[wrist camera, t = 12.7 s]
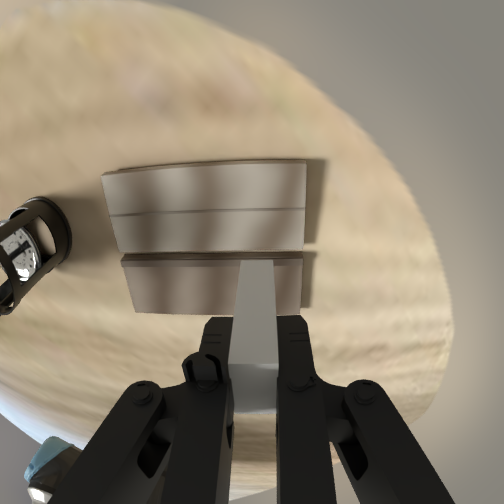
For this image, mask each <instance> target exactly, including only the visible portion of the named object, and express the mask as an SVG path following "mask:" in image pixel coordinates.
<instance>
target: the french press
mask: <svg viewBox="0 0 504 504" xmlns="http://www.w3.org/2000/svg"><path fill="white" fill-rule="evenodd" d="M38 216H39V217H40V218H41V219H42V220H43V221H44V222H45V224H46V225H47V226H48V228H49V230H50V232H51V234H52V237H53V239H54V243H55V248H56V253H55V254H54V255H53V256H45V255H42V254H41V251H40V248H39V246H38V243H37V242H36V240H35V238H34V236H33V235H32V233H31V232H30V231H29V229H28V228H27V227H26V226H25V225H26V224H28V223H29V222H31V221H32V220H34V219H35V218H37V217H38ZM71 246H72V234H71V230H70V226H69V223H68V221H67V219H66V217H65V215H64V214H63V212H62V211H61V209H60V208H59V207H58V206H57V205H56V204H55V203H53V202H52V201H50V200H49V199H46V198H43V197H33V198H31V199H29V200H27V201H26V202H25V203H24V204H23V205H22V206H20V207H18V208H17V209H15V210H14V211H13V212H12V213H11V214H10V216H9V217H8V220H2V221H0V268H2V269H3V270H4V272H5V273H6V274H7V276H8V278H9V279H7V280H6V281H5V282H4V283H3V284H2V285H1V286H0V316H1V315H8V314H10V313H11V312H12V311H13V310H14V309H15V308H16V307H17V305H18V304H19V303H20V301H21V299H22V298H23V297H24V296H25V295H26V293H27V292H28V291H29V290H30V289H31V288H32V287H33V286H34V285H35V284H36V283H37V282H38V281H39V280H40V279H41V278H42V277H43V276H44V275H45V274H47V273H49V272H50V271H51V270H52V269H53V268H54V267H55V266H56V265H58V264H60V263H62V262H63V261H64V260H65V259H66V258H67V257H68V255H69V253H70V250H71ZM13 302H14V303H13ZM12 303H13V307H9V306H10V305H11V304H12Z"/></svg>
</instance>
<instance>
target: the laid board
mask: <svg viewBox="0 0 504 504" xmlns="http://www.w3.org/2000/svg"><path fill="white" fill-rule="evenodd" d="M241 260H273V267H274V284H275V302H276V315H294V314H300V303H301V286H302V267H303V255H302V252H245V253H179V254H125V255H124V256H123V258H122V259H121V266H122V267H123V268H124V272H125V276H126V280H127V284H128V288H129V291H130V295H131V299H132V302H133V306H134V309H135V312H136V313H158V314H189V315H234V311H235V303H236V295H237V287H238V280H239V272H240V264H241Z"/></svg>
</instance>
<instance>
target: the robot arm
mask: <svg viewBox="0 0 504 504" xmlns="http://www.w3.org/2000/svg"><path fill="white" fill-rule="evenodd" d="M182 368H183V372H184V376H185V379H186V382H184V383H182V384H180V385H176V386H172V387H167V388H160V387H159V385H158V384H156V383H154V382H152V381H138V382H136V383H134V384H132V385H130V386H129V387H128V388H127V389H126V390H125V392H124V393H123V394H122V396H121V397H120V398H119V400H118V401H117V403H116V404H115V406H114V407H113V408H112V410H111V411H110V413H109V414H108V415H107V417H106V418H105V420H104V421H103V422H102V424H101V425H100V427H99V428H98V430H97V431H96V432H95V434H94V435H93V437H92V438H91V440H90V441H89V442H88V444H87V445H86V447H85V448H84V450H81V449H79V448H77V447H76V446H75V445H74V444H70V443H68V442H66V441H64V440H62V439H60V438H59V437H56V436H52V437H49V438H47V439H46V440H45V441H44V443H43V444H42V445H41V447H40V448H39V449H38V451H37V453H36V454H35V455H34V457H33V459H32V460H31V463H30V464H29V466H28V468H27V469H26V471H25V474H24V478H25V479H26V480H27V482H30V484H29V487H28V492H29V495H30V497H31V499H32V504H228V501H229V488H230V475H231V462H232V449H233V437H234V422H233V415H234V413H235V414H276V457H277V504H337V501H336V492H335V483H334V475H333V467H332V459H331V452H330V444H329V441H330V442H332V443H333V445H334V447H335V450H336V452H337V454H338V456H339V458H340V461H341V463H342V465H343V467H344V469H345V471H346V474H347V476H348V478H349V480H350V482H351V485H352V487H353V489H354V491H355V493H356V495H357V497H358V500H359V502H360V504H455V503H454V501H453V499H452V498H451V496H450V494H449V492H448V491H447V489H446V488H445V486H444V484H443V482H442V481H441V479H440V478H439V476H438V474H437V473H436V471H435V469H434V468H433V466H432V465H431V463H430V461H429V460H428V458H427V457H426V455H425V453H424V452H423V450H422V449H421V447H420V445H419V444H418V442H417V441H416V439H415V437H414V436H413V434H412V433H411V431H410V430H409V428H408V426H407V425H406V423H405V422H404V420H403V418H402V417H401V415H400V414H399V412H398V411H397V409H396V408H395V406H394V405H393V403H392V401H391V400H390V398H389V397H388V395H387V394H386V392H385V391H384V389H383V388H382V387H381V386H380V385H379V384H378V383H375V382H373V381H371V380H365V379H363V380H356V381H354V382H352V383H350V384H349V385H348V386H347V387H342V386H336V385H332V384H329V383H327V382H325V381H323V380H322V379H321V378H319V376H318V375H317V374H316V371H315V368H314V361H313V355H312V349H311V343H310V337H309V332H308V326H307V322H306V321H305V320H304V319H303V318H302V316H301V315H285V316H276V302H275V284H274V267H273V260H241V264H240V272H239V280H238V287H237V295H236V303H235V311H234V317H211V319H210V320H209V321H208V322H207V323H206V324H205V327H204V331H203V336H202V340H201V344H200V348H199V352H196V353H193V354H191V355H189V356H188V357H187V358H186V359H185V360H184V361H183V363H182Z"/></svg>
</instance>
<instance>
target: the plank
mask: <svg viewBox="0 0 504 504" xmlns="http://www.w3.org/2000/svg"><path fill="white" fill-rule="evenodd" d="M306 167H307V163H306V161H305V160H254V161H226V162H207V163H192V164H178V165H166V166H155V167H145V168H136V169H127V170H119V171H111V172H105V173H104V174H103V175H101V180H102V185H103V190H104V194H105V198H106V203H107V207H108V211H109V217H110V219H111V223H112V227H113V231H114V235H115V238H116V242H117V245H118V249H119V252H169V251H230V250H295V249H303V246H304V226H305V201H306Z"/></svg>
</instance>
